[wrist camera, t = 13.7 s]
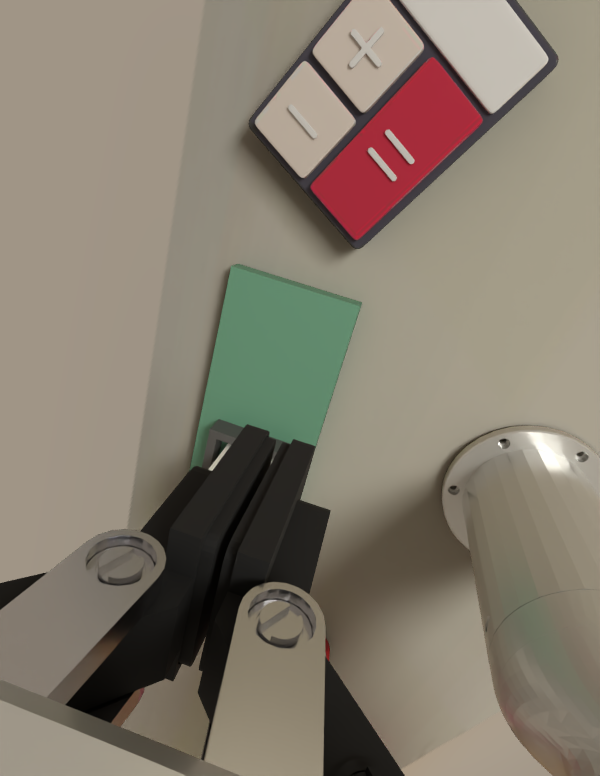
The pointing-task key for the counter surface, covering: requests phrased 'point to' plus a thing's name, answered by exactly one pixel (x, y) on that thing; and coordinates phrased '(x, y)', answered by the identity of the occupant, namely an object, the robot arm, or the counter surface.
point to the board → (273, 361)
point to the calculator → (396, 100)
